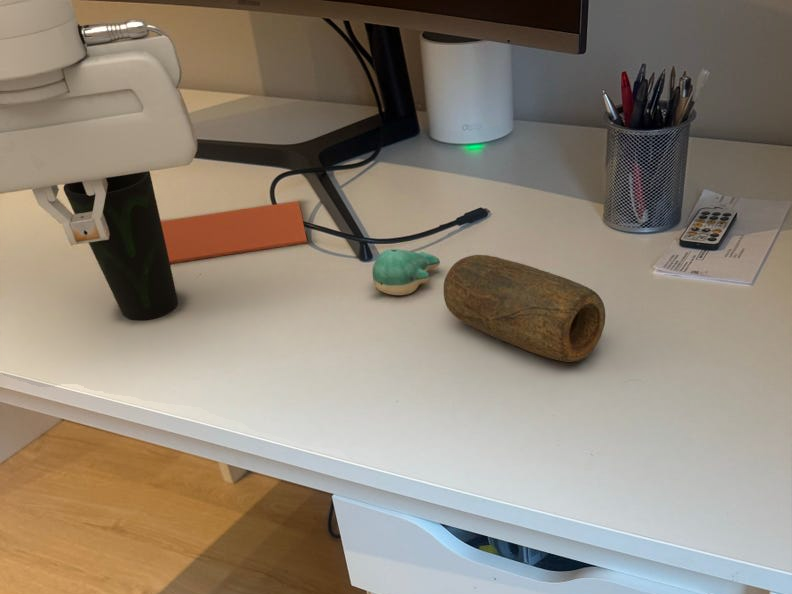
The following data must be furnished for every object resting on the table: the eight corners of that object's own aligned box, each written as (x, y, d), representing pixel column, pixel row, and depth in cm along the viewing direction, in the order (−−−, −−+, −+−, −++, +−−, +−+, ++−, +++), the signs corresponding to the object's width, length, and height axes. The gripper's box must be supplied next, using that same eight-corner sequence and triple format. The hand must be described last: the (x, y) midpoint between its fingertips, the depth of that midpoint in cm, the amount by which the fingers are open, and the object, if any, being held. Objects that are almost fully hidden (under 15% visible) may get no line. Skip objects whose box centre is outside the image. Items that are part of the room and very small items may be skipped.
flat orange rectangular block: (121, 271, 96) (120, 268, 96) (127, 228, 105) (126, 226, 104) (307, 242, 98) (306, 240, 98) (299, 203, 107) (298, 200, 106)
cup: (142, 286, 93) (99, 161, 85) (204, 293, 91) (166, 166, 82) (95, 320, 88) (44, 192, 80) (159, 329, 86) (114, 198, 78)
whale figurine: (361, 290, 89) (355, 251, 87) (413, 263, 93) (408, 225, 90) (403, 305, 86) (398, 266, 84) (454, 276, 90) (451, 238, 87)
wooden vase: (615, 348, 78) (619, 271, 73) (565, 382, 75) (566, 304, 70) (486, 303, 85) (481, 231, 81) (435, 332, 82) (427, 259, 77)
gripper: (167, 5, 65) (221, 205, 75) (-128, 45, 63) (-33, 245, 73) (165, 24, 60) (222, 233, 70) (-153, 67, 58) (-48, 277, 68)
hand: (90, 240), depth 72 cm, fingers closed
